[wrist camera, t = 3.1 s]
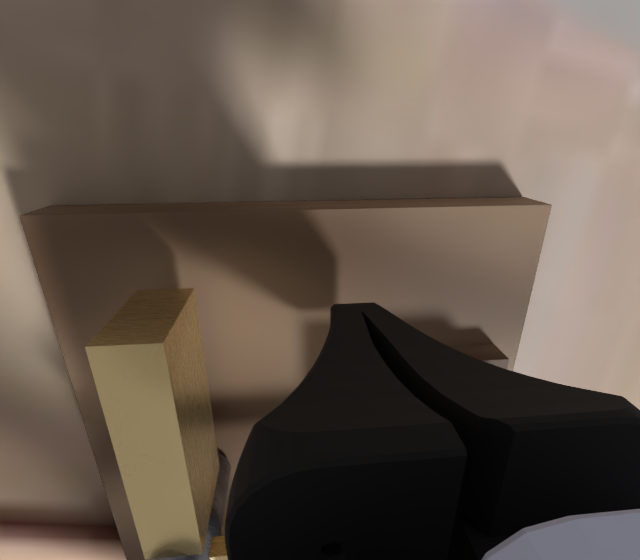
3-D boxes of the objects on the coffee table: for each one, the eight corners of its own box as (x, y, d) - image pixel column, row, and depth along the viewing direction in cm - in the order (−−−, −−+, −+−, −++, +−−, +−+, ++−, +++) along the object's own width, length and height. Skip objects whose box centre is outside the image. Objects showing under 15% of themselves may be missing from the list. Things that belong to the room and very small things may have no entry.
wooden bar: (379, 498, 16) (412, 620, 12) (187, 515, 15) (153, 651, 11) (398, 270, 12) (456, 340, 8) (139, 280, 11) (61, 361, 7)
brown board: (455, 533, 20) (477, 585, 18) (149, 562, 19) (130, 624, 16) (523, 196, 13) (574, 211, 11) (50, 205, 12) (-7, 223, 10)
